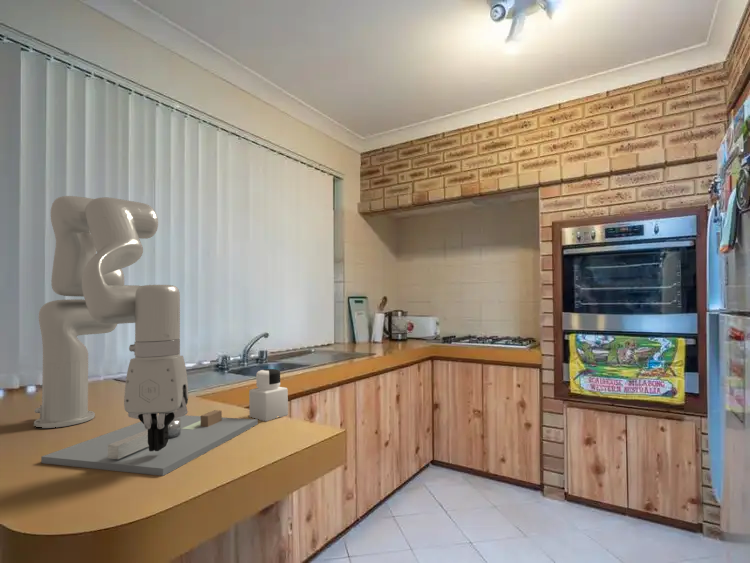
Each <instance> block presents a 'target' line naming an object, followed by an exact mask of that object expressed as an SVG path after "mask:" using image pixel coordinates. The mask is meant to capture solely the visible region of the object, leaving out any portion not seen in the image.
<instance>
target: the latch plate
mask: <svg viewBox="0 0 750 563" xmlns="http://www.w3.org/2000/svg"><path fill="white" fill-rule="evenodd" d="M222 413H223V412H222V410H218V409H217V410H216V409H215V410H211V411H209V412H207V413H204V414H202V415H187V414H186V415H184V416H182V417H178V418H179V419H181V434H180V435H178V436H175V437H171V438H168V442H167V445H166V446H165V447H164V448H162V449H161V450H159V451H155V450H154V451H149V446H148V447H146V448H143V449H141V450H139V451H136V452H134V453H132V454H129V455H127V456H125V457H122V458H120V459H109V458H108V445H109V444H112V443H114V442H117V441H120V440H122V439H125V438H127V437H130V436H133V435H135V434H138V433H140V432H143V431H146V430H148V429H145V427H144V424H143V423H142V422H141V421H138V422H136V423H133V424H131V425H128V426H124V427H122V428H118V429H116V430H113V431H110V432H108V433H104V434H101V435H98V436H95V437H93V438H90V439H88V440H85V441H83V442H82V441H81V442H79V443H77V444H74V445H69V446H67V447H64V448H61V449H59V450H57V451H54V452H51V453H49V454H44V455H42V456H41V459H40V460H41V464H46V465H56V466H57V465H58V466H67V467H76V468H85V469H87V468H88V469H95V470H96V469H97V470H104V471H115V472H124V473H133V474H143V475H152V476H160V477H161V476H165V475H168V474H169V473H171V472H173V471H174V470H176V469H179V468H180V467H182V466H184V465H186V464H188V463H189V462H191V461H193V460H195V459H196V458H199V457H200V456H202V455H204V454H206V453H208V452H210V451H211V450H213V449H215V448H217V447H219V446H220V445H223V444H224V443H227V442H228V441H230V440H232V439H234V438H235V437H237V436H239V435H241V434H243V433H245V432H247V431H249V430H250V429H252V428H254V427H256V426H257V424H258V421H259V420H258V419H254V418H241V417H240V418H237V417H223V416H222V415H223V414H222ZM158 416H159V414H158ZM255 425H256V426H255ZM253 426H254V427H253ZM251 427H252V428H251ZM246 430H247V431H246Z"/></svg>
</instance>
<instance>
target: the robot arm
mask: <svg viewBox="0 0 750 563" xmlns="http://www.w3.org/2000/svg"><path fill="white" fill-rule="evenodd" d="M50 221H51V226H52V229H53V233H54V237H55V247H54V248H55V249H54V256H53V263H52V272H51V280H50V281H51V289H52V291H53V292H54V293H55V294H56V295H59V296H64V297H84V299H82V298H81V299H77V298H76V299H75V298H74V299H71V298H70V299H57V300H52V301H48V302H47V303H44V304H43V305H42V306H40V309H39V312H38V323H39V329H40V334H41V341H42V342H41V344H42V382H41V384H42V387H41V388H42V389H41V391H42V393H41V395H42V396H41V399H42V400H41V405H40V406H39V407H36V408H35V409H34V413H35V414H39V415H40V416H39V418H36V420H34V421H33V427H34V426H36V427H42V428H41V429H53V428H55V427H56V428H61V427H63V428H64V427H69V426H73V425H79V424H82V423H85V422H89V421H90V420H93V419H94V418H95V416H96V415H95V414H96V413H95V412H94V411H93V410H88V409H89V352H88V348H87V347H86V346H85V344H84V343H83V342H82V341H81V340H80V339H79V338H78V337H79V336H85V335H86V336H87V335H88V336H89V335H100V334H108V333H112V331H115V330H116V328H117V327H118V325H121V324H123V325H125V324H134V328H135V330H134V332H135V333H134V334H135V335H134V344H130V345H129V347H128V350H129V352H133V353H134V354H133V355H134V358H130V359H129V363H128V366H127V372H126V378H125V385H124V386H125V387H124V398H123V400H124V402H123V406H124V411H125V412H126V413H127V416H128V418H132V419H135V420H139V422H142V423H143V424H144V427H145V429H148V445H149V451H154V450H155V451H159V450H161V449H162V448H164V447H165V446H166V445H167V442H168V425H169V424H170V423H171V422H172V421H173V420H174V419H175V418H178V417H182V416H184V415H187V414H188V412H189V411H188V408H187V407H188V406H187V404H188V402H189V381H188V374H187V368H186V367H187V366H186V363H185V358H184V355H181V294H180V289H179V288H178V287H177V286H175V285H171V284H144V285H139V284H138V285H134V284H133V285H132V284H130V285H128V284H126V285H125V275H124V274H125V273H124V271H123V269H124V268H126V267H130V266H131V265H134V264H135V263H137V262H138V261H140V259H141V257H142V256H143V253H144V248H143V245H142V242H141V240H142V239H145V240H146V239H150V238H152V237H154V236H155V234H156V233H157V231H158V228H159V218H158V214H157V213H156V211H155V209H154V208H153V207H152V206H151V205H149V204H148V203H143V202H139V201H132V200H127V199H121V198H116V197H103V196H102V197H97V198H92V197H82V196H74V195H64V196H59V197H57V198H56V199H54V200H53V202H52V204H51V209H50ZM140 239H141V240H140ZM158 415H159V416H158ZM36 427H35V428H36Z"/></svg>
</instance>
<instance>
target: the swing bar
mask: <svg viewBox="0 0 750 563" xmlns="http://www.w3.org/2000/svg"><path fill="white" fill-rule="evenodd" d="M180 434H181V419H179V418H175V419H174V420H173V421H172V422H171V423H170V424H169V425H168V438H171V437H175V436H178V435H180ZM148 446H149V445H148V430H146V431H143V432H140V433H138V434H135V435H133V436H130V437H127V438H125V439H122V440H120V441H117V442H114V443H112V444H109V445H108V458H109V459H120V458H122V457H125V456H127V455H129V454H132V453H134V452H136V451H139V450H141V449H143V448H146V447H148Z"/></svg>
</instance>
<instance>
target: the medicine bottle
mask: <svg viewBox="0 0 750 563" xmlns="http://www.w3.org/2000/svg"><path fill="white" fill-rule="evenodd" d="M255 376H256V385H255V386H256V388H252V389H249V390H248V391H249V393H248V394H249V395H248V396H249V397H248V398H249V410H248V411H249V418H251V417H252V418H251V419H254V418H255V419H259V420H258V421H263V422H270V421H273V420H276V419H275V418H277V419H279V418H278V417H277V416H279V417H280V418H284V417H286V416H288V415H289V399H288V396H289V395H288V392H289V390H288V389H289V388H288V387H284V386H281V371H280V369H279V370H278V369H276V368H266V369H265V368H264V369H260V370H258V371H257V372H256V374H255ZM272 419H273V420H272ZM269 420H270V421H269Z"/></svg>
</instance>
